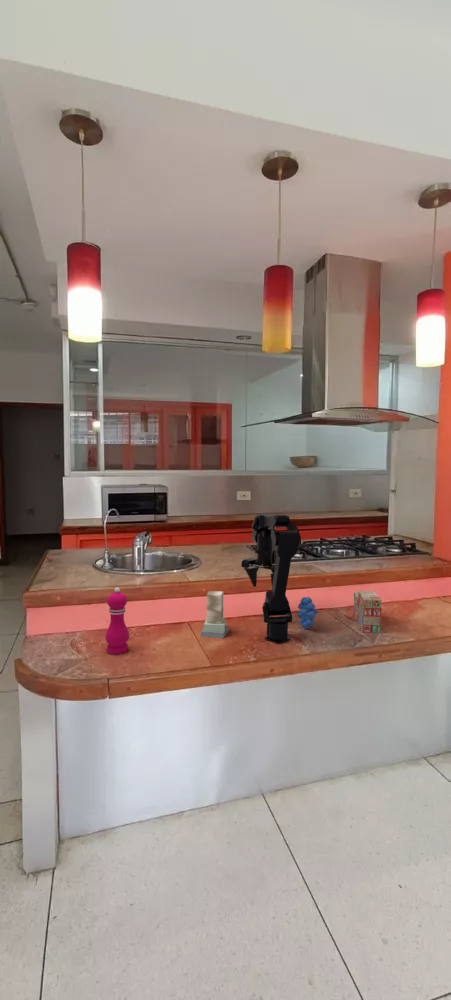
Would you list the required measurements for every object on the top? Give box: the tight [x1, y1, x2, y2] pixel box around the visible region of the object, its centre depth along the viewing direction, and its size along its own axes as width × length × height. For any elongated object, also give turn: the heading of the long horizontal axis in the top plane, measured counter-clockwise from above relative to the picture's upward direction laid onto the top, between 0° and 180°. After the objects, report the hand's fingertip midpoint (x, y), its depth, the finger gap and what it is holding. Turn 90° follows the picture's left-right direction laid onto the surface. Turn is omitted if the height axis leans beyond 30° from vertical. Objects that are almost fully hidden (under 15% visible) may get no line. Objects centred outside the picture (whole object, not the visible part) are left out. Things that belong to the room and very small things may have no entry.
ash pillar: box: [206, 590, 224, 624], centre depth 162 cm, size 5×5×10 cm
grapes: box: [297, 596, 318, 630], centre depth 169 cm, size 12×7×12 cm, turn 15°
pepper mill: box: [104, 587, 130, 655], centre depth 146 cm, size 7×7×20 cm
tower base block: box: [200, 625, 230, 639], centre depth 163 cm, size 8×8×2 cm
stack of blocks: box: [353, 590, 382, 634], centre depth 175 cm, size 21×6×12 cm, turn 173°
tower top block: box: [203, 617, 227, 632], centre depth 163 cm, size 7×7×2 cm
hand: (264, 588), depth 174 cm, fingers open, 9 cm apart
